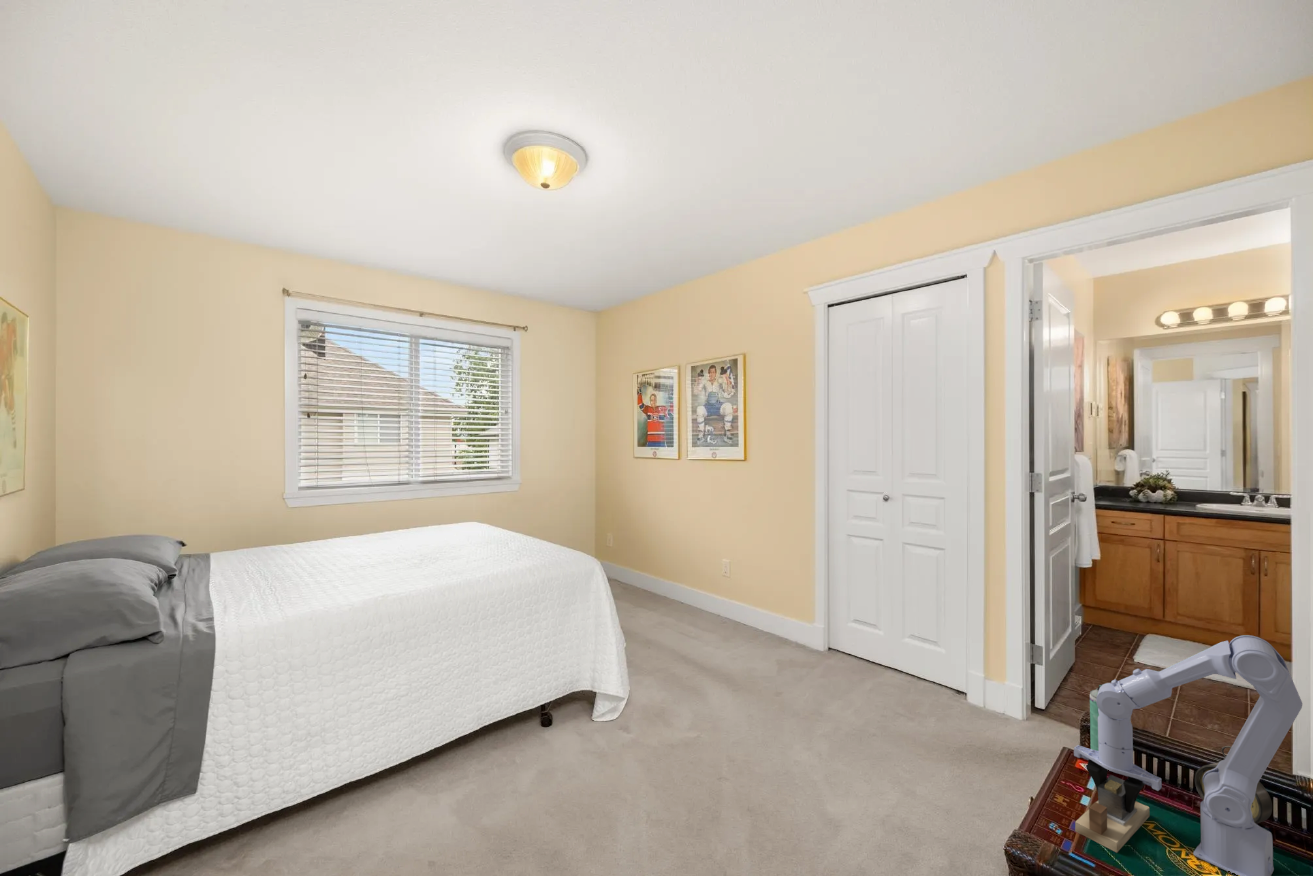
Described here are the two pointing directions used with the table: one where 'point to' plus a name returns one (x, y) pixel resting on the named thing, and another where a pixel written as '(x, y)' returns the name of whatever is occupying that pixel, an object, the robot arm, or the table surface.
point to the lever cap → (1113, 797)
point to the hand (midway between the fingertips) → (1116, 804)
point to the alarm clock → (1261, 801)
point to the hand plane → (1110, 825)
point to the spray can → (1094, 719)
